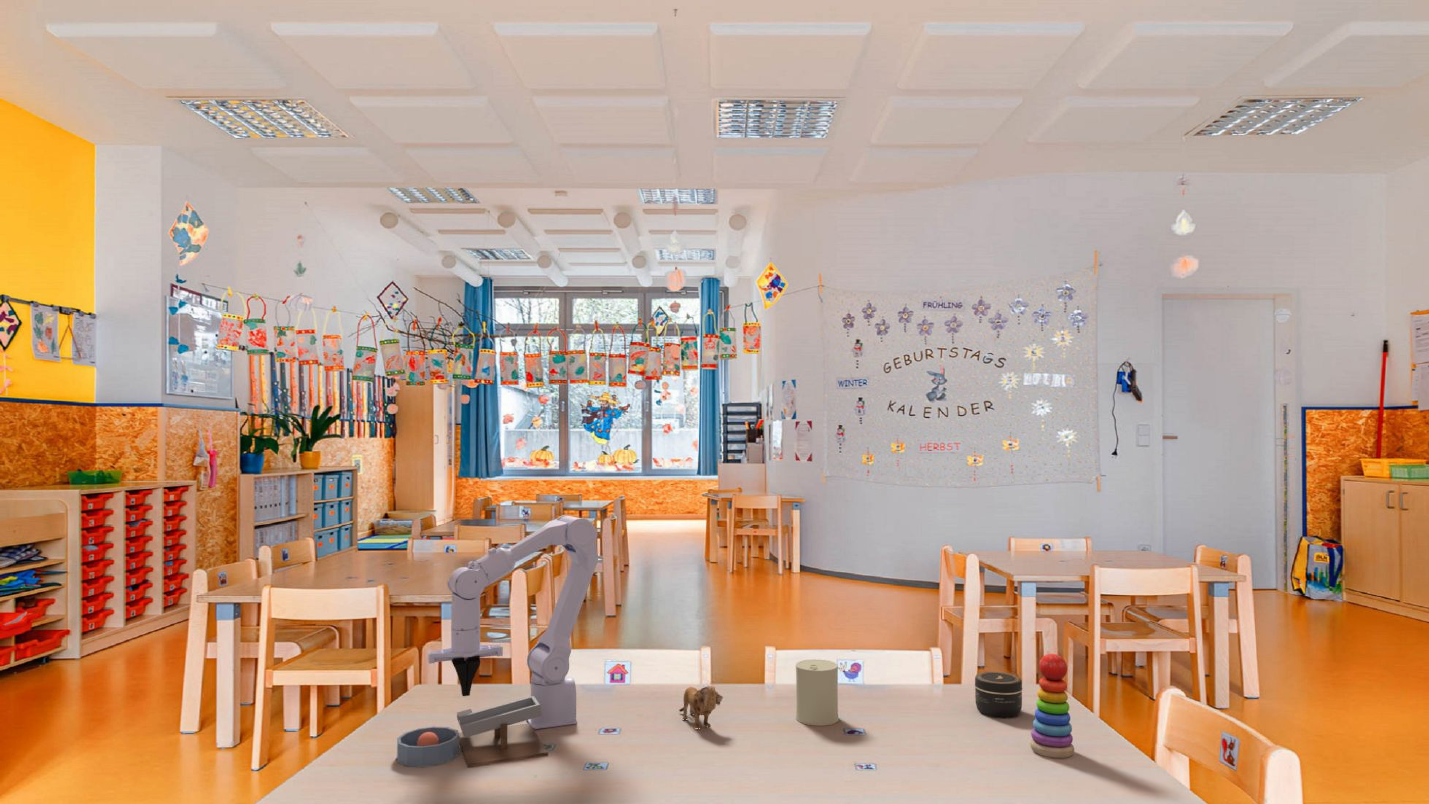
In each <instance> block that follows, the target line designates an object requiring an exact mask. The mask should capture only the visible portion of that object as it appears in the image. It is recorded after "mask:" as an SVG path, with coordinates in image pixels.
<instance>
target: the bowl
mask: <svg viewBox="0 0 1429 804" xmlns="http://www.w3.org/2000/svg"><path fill="white" fill-rule="evenodd" d="M426 732H432V733H434V734H436V735H437V737H438V739H439V744H437V745H430V746H417V741H418V739H419V737H420V736H421V735H422V734H424V733H426ZM459 733H460V732H459V730H458V729H455V728H452V727H449V726H428V727H422V728H421V727H420V728H416V729H413V730H410V731H406V732H403V733H402V734H401V735H400V736H398V737H397V738H396V759H397V764H399V765H402V766H404V767H407V768H409V767H410V768H411V767H412V768H427V767H434V766H440V765H443V764H444V763H447V762H451V761H453V760H454V759H456V758H457V757H458V756H460V745H459Z"/></svg>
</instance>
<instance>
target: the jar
mask: <svg viewBox="0 0 1429 804" xmlns="http://www.w3.org/2000/svg"><path fill="white" fill-rule="evenodd" d="M1023 690H1024V689H1023V681H1022V679H1021V677H1020V676H1017V675H1015V674H1012V673H1008V672H1003V671H983V672H978V673H977V674H975V677H974V691H975V693H974V694H975V704H976V705H975V706H976V708H977V710H978V712H979V713H980V714H982V715H984V716H987V717H990V718H995V719H996V718H997V719H1012V718H1016V717H1019V715H1020V714H1021V712H1022V708H1023Z"/></svg>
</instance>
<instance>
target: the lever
mask: <svg viewBox="0 0 1429 804" xmlns="http://www.w3.org/2000/svg"><path fill="white" fill-rule="evenodd" d="M539 716H542V715H541V709H540V704H539V703H538V701H537V700H536V698H535V697H534V696H531V695H530V696H528V697H523V698H521V699H518V700H514V701H509V702H507V703H502V704H500V705H495V706H491V707H488V708H484V709H482V710H478V711H473V710H472V709H471V708H469V709H464V710H462V711H458V712H456V718H457V719H456V720H457V722H458V725H459V727H460V730H461V732H462V733H463V735H464V738H466V737H470V736H473V735H477V734H480V733H484V732H487V731H491V730H494V729H498V728H501V724H505V723H507V726H513V725H516V724H518V723H521V722H522V723H523V722H525V721H527V720H529V719H532V718H536V717H539Z"/></svg>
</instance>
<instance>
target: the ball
mask: <svg viewBox="0 0 1429 804" xmlns="http://www.w3.org/2000/svg"><path fill="white" fill-rule="evenodd" d="M437 744H439V739H438V737H437V735H436V734H434V733H432V732H426V733H424V734H422V735H421V736H420V737H419V739H418V741H417V746H430V745H437Z"/></svg>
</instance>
